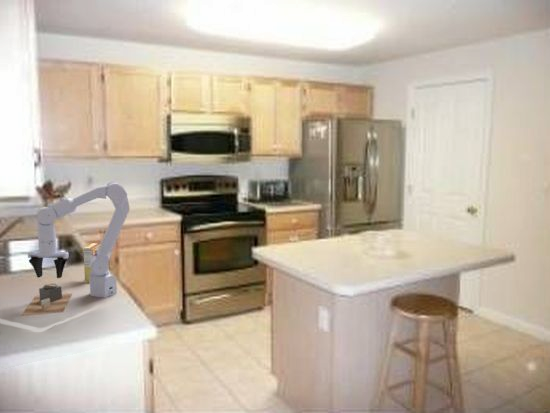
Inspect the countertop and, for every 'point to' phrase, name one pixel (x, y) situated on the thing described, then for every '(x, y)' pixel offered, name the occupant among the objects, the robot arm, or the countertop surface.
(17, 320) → the countertop surface
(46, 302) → the speckled beige tile
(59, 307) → the parts board
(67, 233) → the countertop surface
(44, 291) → the knob
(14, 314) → the countertop surface
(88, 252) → the candy box
